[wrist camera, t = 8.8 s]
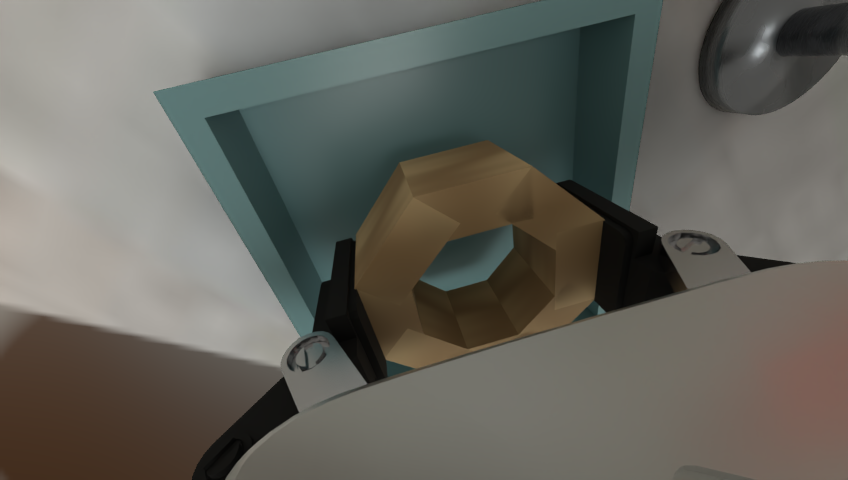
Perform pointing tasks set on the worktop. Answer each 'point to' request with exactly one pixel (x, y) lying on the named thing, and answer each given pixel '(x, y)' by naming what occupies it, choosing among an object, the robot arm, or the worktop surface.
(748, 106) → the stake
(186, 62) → the worktop surface
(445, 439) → the robot arm
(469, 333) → the ring
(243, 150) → the tray
